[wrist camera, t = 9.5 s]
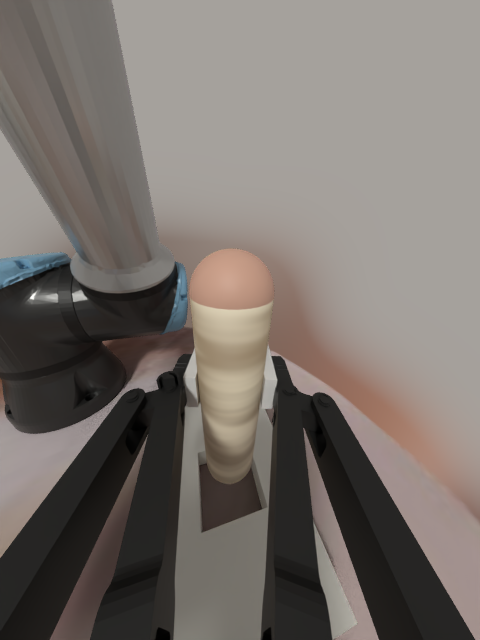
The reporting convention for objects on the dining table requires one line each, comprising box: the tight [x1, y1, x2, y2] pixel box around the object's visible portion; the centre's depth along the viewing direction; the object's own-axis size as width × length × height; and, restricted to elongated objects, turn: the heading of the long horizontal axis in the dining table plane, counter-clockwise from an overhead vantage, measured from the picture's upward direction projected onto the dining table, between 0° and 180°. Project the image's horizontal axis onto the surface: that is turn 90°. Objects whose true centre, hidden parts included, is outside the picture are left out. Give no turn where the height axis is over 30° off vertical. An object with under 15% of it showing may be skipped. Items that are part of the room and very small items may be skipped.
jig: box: [173, 403, 358, 640], centre depth 19 cm, size 20×14×3 cm
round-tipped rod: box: [189, 248, 274, 484], centre depth 12 cm, size 4×4×18 cm
